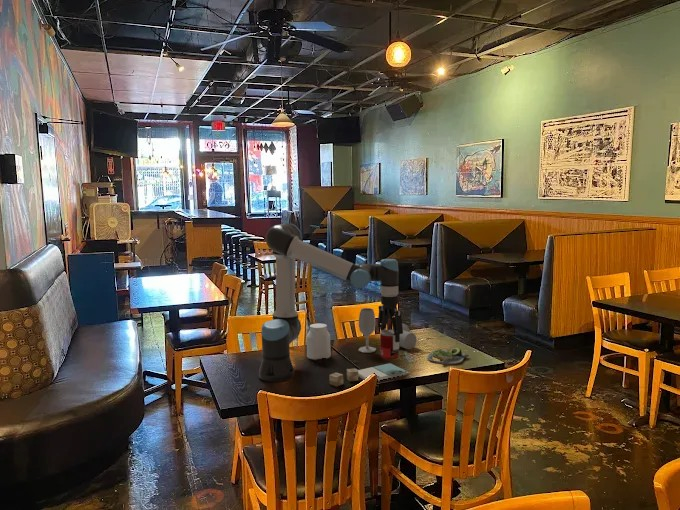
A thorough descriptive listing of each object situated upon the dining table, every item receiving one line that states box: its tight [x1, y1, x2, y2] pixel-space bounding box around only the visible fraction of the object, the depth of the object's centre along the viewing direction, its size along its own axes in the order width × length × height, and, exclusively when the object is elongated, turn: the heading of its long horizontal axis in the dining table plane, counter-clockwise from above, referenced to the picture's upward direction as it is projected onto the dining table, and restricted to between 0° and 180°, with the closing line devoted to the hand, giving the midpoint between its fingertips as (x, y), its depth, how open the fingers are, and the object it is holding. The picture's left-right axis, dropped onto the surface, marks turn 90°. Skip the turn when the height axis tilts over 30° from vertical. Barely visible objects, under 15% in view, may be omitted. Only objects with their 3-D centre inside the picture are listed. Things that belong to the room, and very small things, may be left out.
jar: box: [305, 323, 332, 360], centre depth 244 cm, size 12×10×15 cm
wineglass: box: [357, 307, 377, 354], centre depth 251 cm, size 9×9×21 cm
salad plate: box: [426, 346, 469, 365], centre depth 237 cm, size 19×18×5 cm
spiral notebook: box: [357, 362, 410, 382], centre depth 220 cm, size 20×14×1 cm
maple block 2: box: [346, 368, 359, 382], centre depth 213 cm, size 4×4×4 cm
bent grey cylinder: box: [391, 322, 417, 351], centre depth 263 cm, size 18×11×20 cm
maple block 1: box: [328, 372, 344, 388], centre depth 208 cm, size 4×4×4 cm
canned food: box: [379, 329, 400, 360], centre depth 220 cm, size 8×8×11 cm
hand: (390, 346), depth 221 cm, fingers closed on canned food, 8 cm apart
